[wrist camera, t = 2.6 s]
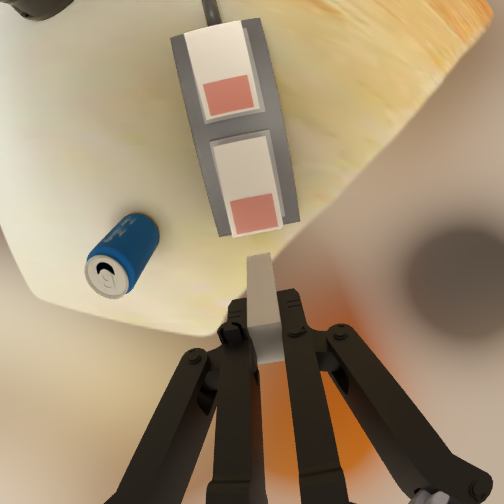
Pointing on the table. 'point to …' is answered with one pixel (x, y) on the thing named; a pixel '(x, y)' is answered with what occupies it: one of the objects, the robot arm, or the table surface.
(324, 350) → the robot arm
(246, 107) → the rocker
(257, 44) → the power strip
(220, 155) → the rocker
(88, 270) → the beverage can
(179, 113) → the table surface
